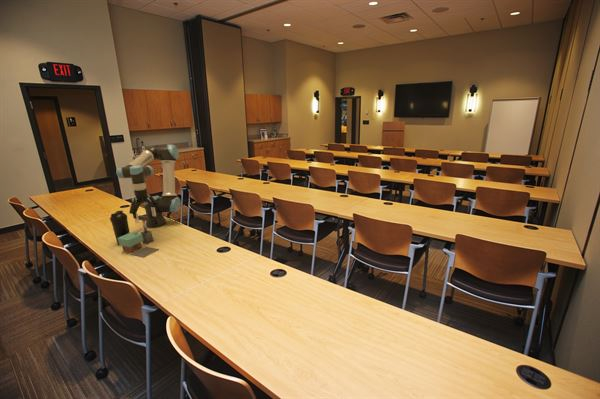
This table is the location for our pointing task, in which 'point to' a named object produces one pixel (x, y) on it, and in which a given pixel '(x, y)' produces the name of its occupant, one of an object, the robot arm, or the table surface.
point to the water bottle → (119, 224)
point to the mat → (144, 252)
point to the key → (143, 218)
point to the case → (132, 248)
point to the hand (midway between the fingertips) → (146, 219)
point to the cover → (130, 239)
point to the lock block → (147, 237)
